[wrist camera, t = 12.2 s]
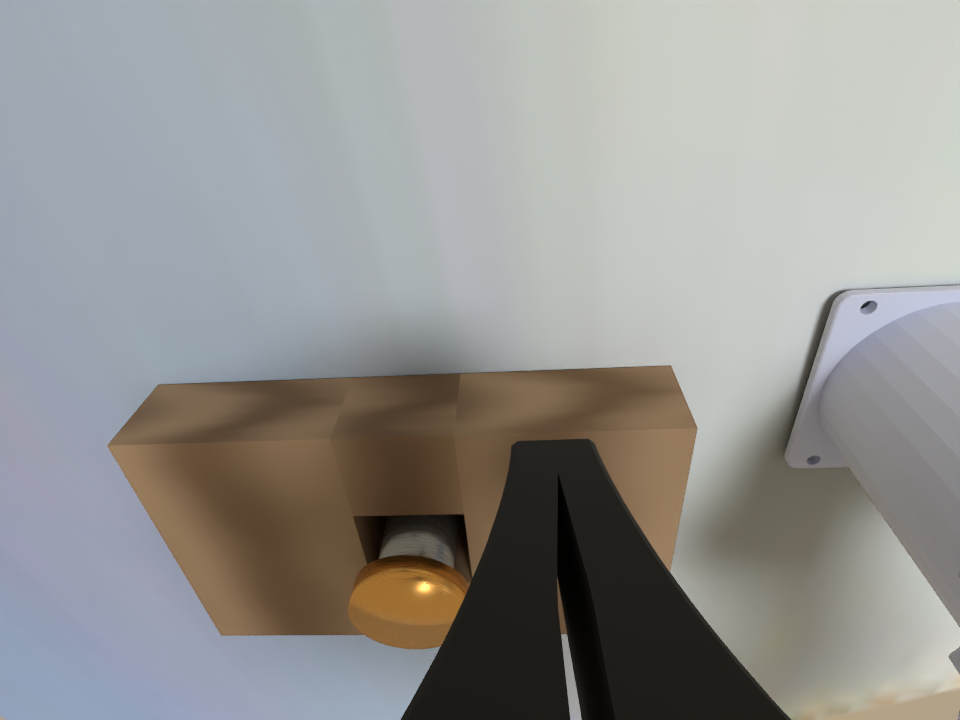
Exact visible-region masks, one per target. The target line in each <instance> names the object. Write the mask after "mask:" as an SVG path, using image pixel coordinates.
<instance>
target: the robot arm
mask: <svg viewBox="0 0 960 720" xmlns="http://www.w3.org/2000/svg"><path fill="white" fill-rule="evenodd" d="M867 301H871V302H870V304H869V305H868V306H866V307H865V308H862V309H860V308H861V306H862V305H863V304H864V303H866V302H867ZM811 456H813V457H811ZM809 457H810V458H809ZM784 459H785V460H786V462H787V464H788V465H789V466H790V467H792V468H797V469H800V468H841V467H849V469H850V470H851V472H852V473H853V475H854V476H855V477H856V479H857V480H858V482H859V483H860V485H861V486H862V487H863V489H864V490H865V492H866V493H867V495H868V496H869V498H870V499H871V500H872V502H873V503H874V505H875V506H876V508H877V509H878V510H879V512H880V513H881V515H882V516H883V518H884V519H885V521H886V522H887V523H888V525H889V526H890V528H891V529H892V531H893V532H894V533H895V535H896V536H897V538H898V539H899V541H900V542H901V544H902V545H903V546H904V548H905V549H906V551H907V552H908V554H909V555H910V557H911V558H912V559H913V561H914V562H915V564H916V565H917V567H918V568H919V569H920V571H921V572H922V574H923V575H924V577H925V578H926V580H927V581H928V582H929V584H930V585H931V587H932V588H933V590H934V591H935V592H936V594H937V595H938V597H939V598H940V600H941V601H942V603H943V604H944V605H945V607H946V608H947V610H948V611H949V613H950V614H951V615H952V617H953V618H954V620H955V621H956V623H957V624H958V626H959V627H960V285H952V286H930V287H908V288H886V289H864V290H850V291H846V292H844V293H842V294H840V295H839V296H838V297H837V298H836V299H835V300H834V302H833V304H832V307H831V310H830V313H829V316H828V319H827V322H826V326H825V329H824V332H823V335H822V338H821V341H820V344H819V348H818V351H817V354H816V357H815V360H814V363H813V366H812V370H811V373H810V376H809V379H808V382H807V385H806V388H805V392H804V395H803V398H802V401H801V404H800V407H799V410H798V414H797V417H796V420H795V423H794V426H793V429H792V432H791V436H790V439H789V442H788V445H787V448H786V451H785V454H784ZM557 578H558V584H559V590H560V596H561V601H562V607H563V613H564V619H565V624H566V630H567V636H568V641H569V647H570V653H571V658H572V664H573V670H574V675H575V681H576V687H577V692H578V698H579V704H580V710H581V717H582V720H791V719H790V718H789V717H788V716H787V715H786V714H785V713H784V712H783V710H782V709H781V708H780V707H779V706H778V705H777V704H776V703H775V702H774V701H773V700H772V699H771V698H770V696H769V695H768V694H767V693H766V692H765V691H764V690H763V688H762V687H761V686H760V685H759V684H758V683H757V681H756V680H755V679H754V678H753V677H752V676H751V675H750V673H749V672H748V671H747V670H746V669H745V668H744V666H743V665H742V664H741V663H740V662H739V661H738V660H737V658H736V657H735V656H734V655H733V653H732V652H731V651H730V650H729V649H728V647H727V646H726V645H725V644H724V642H723V641H722V640H721V639H720V638H719V636H718V635H717V634H716V633H715V632H714V630H713V629H712V628H711V627H710V625H709V624H708V623H707V621H706V620H705V619H704V618H703V616H702V615H701V614H700V612H699V611H698V610H697V608H696V607H695V606H694V605H693V603H692V602H691V601H690V599H689V598H688V597H687V595H686V594H685V592H684V591H683V590H682V588H681V587H680V586H679V584H678V583H677V581H676V580H675V579H674V577H673V576H672V574H671V573H670V572H669V570H668V569H667V568H666V566H665V565H664V563H663V562H662V560H661V559H660V557H659V556H658V554H657V553H656V551H655V550H654V548H653V547H652V545H651V544H650V542H649V541H648V539H647V538H646V536H645V534H644V533H643V531H642V530H641V528H640V527H639V525H638V523H637V522H636V520H635V519H634V517H633V516H632V514H631V512H630V511H629V509H628V507H627V506H626V504H625V502H624V501H623V499H622V497H621V495H620V493H619V492H618V490H617V488H616V486H615V485H614V483H613V481H612V479H611V477H610V475H609V473H608V471H607V469H606V467H605V465H604V463H603V461H602V459H601V457H600V455H599V453H598V450H597V448H596V445H595V443H593V442H592V441H591V440H590V439H562V440H531V441H517V442H516V443H514V444H513V445H512V446H511V456H510V463H509V469H508V474H507V479H506V483H505V487H504V490H503V494H502V498H501V501H500V505H499V508H498V511H497V514H496V517H495V520H494V523H493V526H492V529H491V532H490V535H489V538H488V541H487V543H486V546H485V549H484V551H483V554H482V556H481V559H480V561H479V564H478V566H477V568H476V571H475V573H474V576H473V578H472V581H471V583H470V585H469V588H468V590H467V593H466V595H465V597H464V599H463V602H462V604H461V606H460V608H459V610H458V612H457V615H456V617H455V619H454V621H453V623H452V625H451V627H450V629H449V631H448V633H447V635H446V637H445V639H444V641H443V643H442V645H441V647H440V649H439V651H438V653H437V655H436V657H435V659H434V661H433V663H432V664H431V666H430V668H429V670H428V672H427V674H426V675H425V677H424V679H423V681H422V683H421V684H420V686H419V688H418V690H417V692H416V694H415V695H414V697H413V699H412V701H411V703H410V704H409V706H408V708H407V710H406V711H405V713H404V715H403V716H402V718H401V720H570V713H569V704H568V695H567V686H566V677H565V668H564V658H563V649H562V640H561V630H560V621H559V611H558V591H557ZM949 659H950V660H951V662H952V663H953V665H954V666H955V668H956V669H957V671H958V672H959V674H960V647H959V648H958V649H956V650H955V651H953V652H952V653H951V654H950V655H949ZM958 720H960V711H959V715H958Z"/></svg>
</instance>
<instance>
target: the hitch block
mask: <svg viewBox="0 0 960 720" xmlns="http://www.w3.org/2000/svg"><path fill="white" fill-rule="evenodd" d="M696 433H697V426H696V424H695V421H694V419H693V416H692V414H691V412H690V409H689V407H688V405H687V402H686V400H685V398H684V395H683V393H682V391H681V388H680V386H679V383H678V381H677V379H676V376H675V374H674V372H673V369H672V367H671V366H651V367H624V368H597V369H570V370H544V371H517V372H490V373H463V374H436V375H409V376H383V377H356V378H329V379H302V380H275V381H248V382H222V383H195V384H168V385H158V386H157V387H156V388H155V389H154V390H153V392H152V393H151V394H150V395H149V396H148V398H147V399H146V400H145V401H144V402H143V404H142V405H141V406H140V407H139V408H138V409H137V411H136V412H135V413H134V414H133V415H132V417H131V418H130V419H129V420H128V421H127V423H126V424H125V425H124V426H123V427H122V429H121V430H120V431H119V432H118V433H117V434H116V436H115V437H114V438H113V439H112V440H111V442H110V443H109V444H108V445H107V446H108V448H109V450H110V451H111V453H112V455H113V456H114V458H115V460H116V461H117V463H118V465H119V466H120V468H121V470H122V471H123V473H124V475H125V476H126V478H127V480H128V481H129V483H130V485H131V486H132V488H133V490H134V491H135V493H136V495H137V496H138V498H139V500H140V501H141V503H142V505H143V506H144V508H145V510H146V511H147V513H148V515H149V516H150V518H151V520H152V521H153V523H154V525H155V526H156V528H157V530H158V531H159V533H160V534H161V536H162V538H163V539H164V541H165V543H166V544H167V546H168V548H169V549H170V551H171V553H172V554H173V556H174V558H175V559H176V561H177V563H178V564H179V566H180V568H181V569H182V571H183V573H184V574H185V576H186V578H187V579H188V581H189V583H190V584H191V586H192V588H193V589H194V591H195V593H196V594H197V596H198V598H199V599H200V601H201V603H202V604H203V606H204V608H205V609H206V611H207V613H208V614H209V616H210V618H211V619H212V621H213V623H214V624H215V626H216V628H217V629H218V631H219V633H220V634H221V635H364V634H363V633H361V632H360V631H359V630H358V629H357V628H356V627H355V626H354V625H353V623H352V622H351V620H350V618H349V614H348V606H349V602H350V597H351V593H352V589H353V585H354V581H355V578H356V576H357V574H358V573H359V571H360V570H361V569H362V568H363V567H364V566H366V565H367V564H369V563H371V562H373V561H375V560H378V559H379V554H380V550H381V545H382V540H383V536H384V531H385V527H386V522H387V516H393V515H444V514H464V515H459V517H458V529H457V541H456V553H455V565H454V569H455V570H456V571H458V572H459V573H460V574H461V575H462V576H463V577H464V578H465V580H466V581H467V583H468V585H470V583H471V581H472V578H473V576H474V573H475V571H476V568H477V566H478V564H479V561H480V559H481V556H482V554H483V551H484V549H485V546H486V543H487V541H488V538H489V535H490V532H491V529H492V526H493V523H494V520H495V517H496V514H497V511H498V508H499V505H500V501H501V498H502V494H503V490H504V487H505V483H506V479H507V474H508V469H509V463H510V456H511V446H512V445H513V444H514V443H516V442H517V441H531V440H562V439H590V440H591V441H592V442H593V443H595V445H596V448H597V450H598V453H599V455H600V457H601V459H602V461H603V463H604V465H605V467H606V469H607V471H608V473H609V475H610V477H611V479H612V481H613V483H614V485H615V486H616V488H617V490H618V492H619V493H620V495H621V497H622V499H623V501H624V502H625V504H626V506H627V507H628V509H629V511H630V512H631V514H632V516H633V517H634V519H635V520H636V522H637V523H638V525H639V527H640V528H641V530H642V531H643V533H644V534H645V536H646V538H647V539H648V541H649V542H650V544H651V545H652V547H653V548H654V550H655V551H656V553H657V554H658V556H659V557H660V559H661V560H662V562H663V563H664V565H665V566H666V568H667V569H668V570H669V572H670V568H671V563H672V558H673V553H674V547H675V542H676V537H677V532H678V527H679V521H680V516H681V511H682V506H683V501H684V495H685V490H686V485H687V480H688V475H689V469H690V464H691V459H692V454H693V449H694V443H695V438H696ZM557 591H558V611H559V621H560V630H561V634H567V630H566V624H565V619H564V613H563V607H562V601H561V596H560V590H559V584H558V578H557Z"/></svg>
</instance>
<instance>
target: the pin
mask: <svg viewBox="0 0 960 720" xmlns="http://www.w3.org/2000/svg"><path fill="white" fill-rule="evenodd" d="M458 517H459V514H444V515H393V516H388V517H387V522H386V527H385V531H384V536H383V540H382V545H381V550H380V554H379V559H378V560H375V561H373V562H371V563H369V564H367V565H366V566H364V567H363V568H362V569H361V570H360V571H359V573H358V574H357V576H356V578H355V581H354V585H353V589H352V593H351V597H350V602H349V606H348V614H349V618H350V620H351V622H352V623H353V625H354V626H355V627H356V628H357V629H358V630H359V631H360V632H361V633H363V634H364V635H366V636H367V637H369V638H371V639H373V640H375V641H377V642H380V643H383V644H386V645H389V646H393V647H398V648H406V649H427V648H434V647H439V646H441V645H442V643H443V641H444V639H445V637H446V635H447V633H448V631H449V629H450V627H451V625H452V623H453V621H454V619H455V617H456V615H457V612H458V610H459V608H460V606H461V604H462V602H463V599H464V597H465V595H466V593H467V590H468V588H469V585H468V583H467V581H466V580H465V578H464V577H463V576H462V575H461V574H460V573H459V572H458V571H456V570H455V569H454V565H455V553H456V541H457V529H458Z"/></svg>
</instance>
